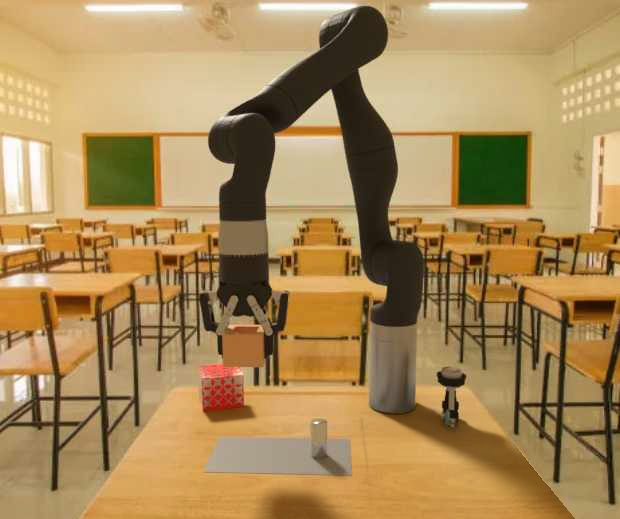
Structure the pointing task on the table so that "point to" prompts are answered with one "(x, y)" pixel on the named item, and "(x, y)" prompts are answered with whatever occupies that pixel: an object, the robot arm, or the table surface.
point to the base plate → (278, 456)
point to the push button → (451, 393)
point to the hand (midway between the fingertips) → (246, 356)
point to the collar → (243, 346)
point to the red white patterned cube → (220, 387)
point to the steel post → (318, 438)
